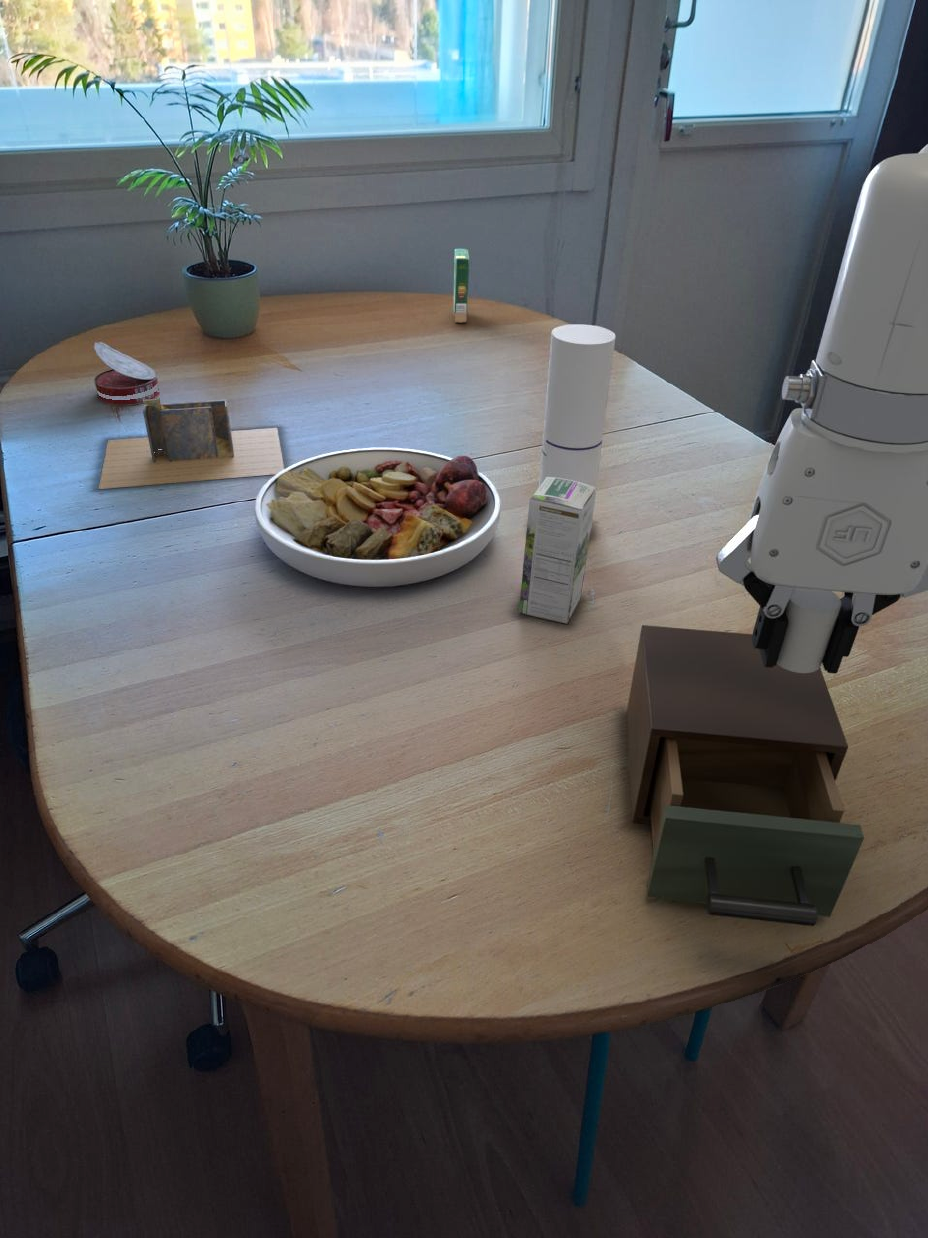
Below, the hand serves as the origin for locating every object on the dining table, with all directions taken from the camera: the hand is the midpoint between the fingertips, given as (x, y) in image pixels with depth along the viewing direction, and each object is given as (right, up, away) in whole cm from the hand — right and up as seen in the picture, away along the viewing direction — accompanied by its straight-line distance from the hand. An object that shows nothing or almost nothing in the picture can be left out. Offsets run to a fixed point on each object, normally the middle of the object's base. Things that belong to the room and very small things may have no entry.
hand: (796, 656), depth 60 cm
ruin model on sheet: (-62, +26, +67) cm, 95 cm away
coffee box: (-24, +66, +125) cm, 144 cm away
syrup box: (-13, +4, +38) cm, 41 cm away
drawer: (-2, -17, +8) cm, 19 cm away
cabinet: (-1, -11, +17) cm, 21 cm away
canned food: (-79, +40, +86) cm, 123 cm away
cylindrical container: (-10, +14, +53) cm, 56 cm away
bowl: (-33, +13, +50) cm, 62 cm away
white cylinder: (0, 0, 0) cm, 0 cm away
